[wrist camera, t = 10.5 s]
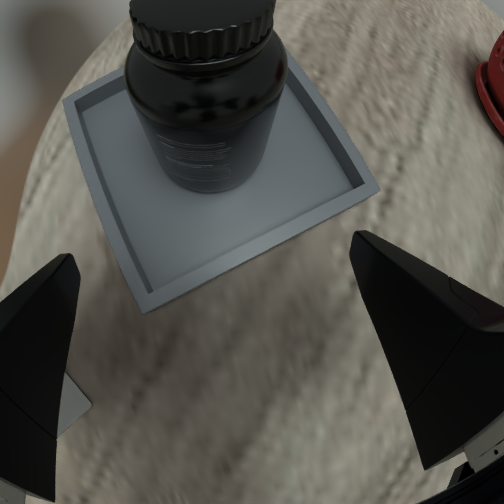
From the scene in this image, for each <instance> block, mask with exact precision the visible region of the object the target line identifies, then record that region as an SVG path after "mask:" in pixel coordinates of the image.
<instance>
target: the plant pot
mask: <svg viewBox="0 0 504 504" xmlns="http://www.w3.org/2000/svg"><path fill="white" fill-rule="evenodd" d="M475 79H476V86H477V90H478V93H479V97H480V99H481V101H482V103H483V106H484V108H485V110H486V111H487V113H488V115H489V117H490V118H491V120H492V122H493V123H494V124H495V126H496V127H497V129H498V130H499V131H500V133H501V134H502V135H503V136H504V30H503V32H502V33H501V35H500V36H499V38H498V39H497V41H496V43H495V45H494V47H493V49H492V52H491V54H490V58H489V62H482V63H480V64H479V65H478V67H477V69H476V74H475Z"/></svg>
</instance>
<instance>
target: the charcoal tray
mask: <svg viewBox="0 0 504 504" xmlns="http://www.w3.org/2000/svg"><path fill="white" fill-rule="evenodd" d="M285 50H286V53H287V58H288V71H287V76H286V81H285V85H284V88H283V92H282V95H281V98H280V102H279V105H278V108H277V112H276V115H275V119H274V122H273V125H272V129H271V132H270V135H269V139H268V142H267V146H266V149H265V152H264V155H263V157H262V160H261V162H260V164H259V165H258V167H257V168H256V170H255V171H254V172H253V173H252V174H251V176H249V177H248V178H247V179H246V180H245V181H243V182H242V183H240V184H238V185H236V186H234V187H232V188H229V189H227V190H223V191H218V192H199V191H194V190H190V189H187V188H185V187H183V186H181V185H179V184H177V183H176V182H174V181H173V180H172V179H171V178H170V177H169V176H168V175H167V174H166V173H165V171H164V170H163V169H162V167H161V165H160V164H159V162H158V160H157V158H156V156H155V153H154V151H153V149H152V147H151V145H150V143H149V141H148V138H147V136H146V134H145V132H144V130H143V128H142V125H141V123H140V121H139V119H138V117H137V114H136V112H135V110H134V108H133V105H132V103H131V101H130V98H129V96H128V93H127V91H126V87H125V83H124V67H122V68H120V69H118V70H116V71H113V72H111V73H109V74H108V75H106V76H104V77H102V78H100V79H98V80H96V81H94V82H92V83H90V84H89V85H87V86H85V87H83V88H81V89H80V90H78V91H76V92H75V93H73V94H71V95H69V96H68V97H66V98H64V99H63V100H62V102H63V106H64V110H65V113H66V117H67V121H68V125H69V128H70V132H71V135H72V139H73V142H74V145H75V149H76V152H77V155H78V158H79V161H80V164H81V168H82V171H83V174H84V176H85V179H86V182H87V185H88V188H89V191H90V194H91V196H92V199H93V202H94V205H95V207H96V210H97V213H98V215H99V218H100V220H101V223H102V225H103V228H104V230H105V233H106V235H107V238H108V240H109V243H110V245H111V247H112V250H113V252H114V254H115V257H116V259H117V261H118V264H119V266H120V268H121V270H122V273H123V275H124V277H125V279H126V281H127V283H128V286H129V288H130V290H131V292H132V294H133V296H134V298H135V300H136V302H137V304H138V306H139V308H140V310H141V312H142V314H145V313H148V312H151V311H153V310H155V309H157V308H159V307H161V306H163V305H165V304H167V303H169V302H171V301H172V300H174V299H176V298H178V297H180V296H182V295H184V294H186V293H188V292H190V291H192V290H194V289H196V288H198V287H200V286H202V285H204V284H205V283H207V282H209V281H211V280H213V279H215V278H217V277H219V276H221V275H223V274H225V273H227V272H229V271H231V270H233V269H234V268H236V267H238V266H240V265H242V264H244V263H246V262H248V261H250V260H252V259H254V258H256V257H258V256H259V255H261V254H263V253H265V252H267V251H269V250H271V249H273V248H275V247H277V246H279V245H281V244H282V243H284V242H286V241H288V240H290V239H292V238H294V237H296V236H298V235H300V234H302V233H304V232H305V231H307V230H309V229H311V228H313V227H315V226H317V225H319V224H321V223H323V222H325V221H326V220H328V219H330V218H332V217H334V216H336V215H338V214H340V213H342V212H344V211H345V210H347V209H349V208H351V207H353V206H355V205H357V204H359V203H361V202H363V201H364V200H366V199H368V198H369V197H371V196H373V195H374V194H376V193H377V192H379V191H381V189H380V187H379V186H378V184H377V182H376V180H375V179H374V177H373V175H372V173H371V172H370V170H369V168H368V166H367V165H366V163H365V161H364V160H363V158H362V156H361V155H360V153H359V151H358V150H357V148H356V147H355V145H354V143H353V142H352V140H351V139H350V137H349V135H348V134H347V132H346V131H345V129H344V128H343V126H342V125H341V123H340V122H339V120H338V119H337V117H336V116H335V114H334V113H333V111H332V110H331V108H330V107H329V105H328V104H327V102H326V101H325V100H324V98H323V97H322V95H321V94H320V93H319V91H318V90H317V88H316V87H315V86H314V84H313V83H312V82H311V80H310V79H309V78H308V76H307V75H306V74H305V72H304V71H303V70H302V68H301V67H300V66H299V64H298V63H297V62H296V61H295V59H294V58H293V57H292V56H291V54H290V53H289V52H288V51H287V49H286V48H285Z"/></svg>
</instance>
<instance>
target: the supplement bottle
mask: <svg viewBox="0 0 504 504" xmlns="http://www.w3.org/2000/svg"><path fill="white" fill-rule="evenodd" d="M275 4H276V0H131V1H130V3H129V6H130V10H129V14H130V18H131V22H132V25H133V38H134V43H133V44H132V46H131V48H130V50H129V52H128V54H127V57H126V61H125V65H124V83H125V87H126V91H127V93H128V96H129V98H130V101H131V103H132V105H133V108H134V110H135V112H136V114H137V117H138V119H139V121H140V123H141V125H142V128H143V130H144V132H145V134H146V136H147V138H148V141H149V143H150V145H151V147H152V149H153V151H154V153H155V156H156V158H157V160H158V162H159V164H160V165H161V167H162V169H163V170H164V171H165V173H166V174H167V175H168V176H169V177H170V178H171V179H172V180H173V181H174V182H176V183H177V184H179V185H181V186H183V187H185V188H187V189H190V190H194V191H199V192H218V191H223V190H227V189H229V188H232V187H234V186H236V185H238V184H240V183H242V182H243V181H245V180H246V179H247V178H248V177H249V176H251V174H252V173H253V172H254V171H255V170H256V168H257V167H258V165H259V164H260V162H261V160H262V157H263V155H264V152H265V149H266V146H267V142H268V139H269V135H270V132H271V129H272V125H273V122H274V119H275V115H276V112H277V108H278V105H279V102H280V98H281V95H282V92H283V88H284V85H285V81H286V76H287V71H288V58H287V53H286V50H285V47H284V45H283V43H282V41H281V39H280V38H279V36H278V35H277V33H276V32H275V31H274V30H273V14H274V9H275Z"/></svg>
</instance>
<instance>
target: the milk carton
mask: <svg viewBox="0 0 504 504" xmlns="http://www.w3.org/2000/svg"><path fill="white" fill-rule="evenodd" d="M91 406H92V404H91V403H90V401H89V400H88V399H87V398H86V397H85V395H84V394H83V393H82V392H81V391H80V390H79V388H78V387H77V386H76V385H75V384H74V382H73V381H72V380H71V379H70V377H69V376H68V375H67V374H66V372H65V374H64V381H63V388H62V395H61V403H60V411H59V421H58V432H57V437H59V436H60V435H61V434H62V433H63V432H64V431H65V430H66V429H68V428H69V427H70V426H71V425H72V424H73V423H74V422H75V421H76V420H78V419H79V418H80V417H81V416H82V415H83V414H84V413H85V412H87V411H88V410H89V409H90V408H91Z"/></svg>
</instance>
